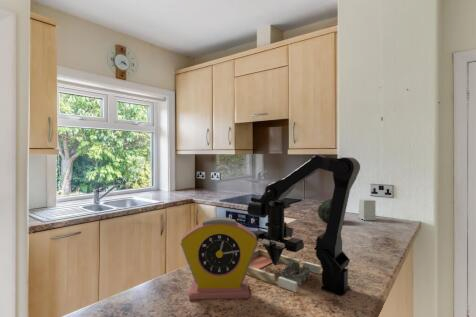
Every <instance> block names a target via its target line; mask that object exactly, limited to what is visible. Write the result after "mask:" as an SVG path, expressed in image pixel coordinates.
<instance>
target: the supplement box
mask: <svg viewBox="0 0 476 317" xmlns="http://www.w3.org/2000/svg"><path fill="white" fill-rule="evenodd" d="M359 218H361V219H363V220H375V221H376V200H375V199H372V198H359V199H358V219H359ZM361 219H360V220H361ZM363 220H362V221H363Z"/></svg>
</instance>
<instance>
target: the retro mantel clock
mask: <svg viewBox="0 0 476 317" xmlns="http://www.w3.org/2000/svg"><path fill="white" fill-rule="evenodd" d="M253 232H254V231H252V230H251V229H250V228H248V227H247V226H245V225H244V224H242V223H239V222H237V221H236V219H234V218H230V217H225V216H215V217H209V218H206V219H204V220H203V221H202V222H201V223H198V224H197V225H195V226H194V227H192V228H190V229H189V230H188V231H186V233H184V234H183V236H182V238H181V240H180V241H181V242H180V246H181V248H182V252H183V254H184V257H185V259H186V261H187V264H188V267H189V270H190V272H191V274H192V277H193V280H191V281H192V282H191V285H190V288H189V294H188V299H189V300H190V301H192V300H230V299H231V300H234V299H235V300H236V299H249V298H250V288H249V284H248V280H247V279H246V275H247V274H246V273H247V270H248V268H249V265H250V262H251V260H252V257H253V254H254V252H255V250H256V249H257V246H258V241H257V238H256V235H255V234H254V233H253Z"/></svg>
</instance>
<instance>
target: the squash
mask: <svg viewBox="0 0 476 317" xmlns="http://www.w3.org/2000/svg"><path fill="white" fill-rule="evenodd" d="M331 202H332V198H328V199H326V200H325V201H323V202H322V203H320V205H319V206H318V207H317V208H318V209H317V215H318V217H319V218H320V220H323V221H327V222H328V217H329V212H330V207H331Z"/></svg>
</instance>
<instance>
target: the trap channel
mask: <svg viewBox="0 0 476 317" xmlns="http://www.w3.org/2000/svg"><path fill="white" fill-rule="evenodd" d="M292 260H294V261H295V262H297V263H299V265H300V266H301V260H300V259H298V258H295V257H290V256H287V255H283V254H281V256H280V259H279V261H278V263H281V264H284V265H286V266H288V264H289V262H291V261H292ZM271 264H273V262H272V260H271V258H270V256H269V254H268V252H267V250H266V249H262V248H256V249H255V252H254V254H253V257H252V260H251V262H250V265H249V268H248V270H247V273H246V275H248V276H250V277H252V278H253V277H254V278H256V279H258V280H260V281H264V282H266V283H269V284H275V281H276V280H275V277H276V275H275V274H274V273H271V272H269V271H267V270H262V269H264V268H265V267H267V266H268V265H271Z"/></svg>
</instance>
